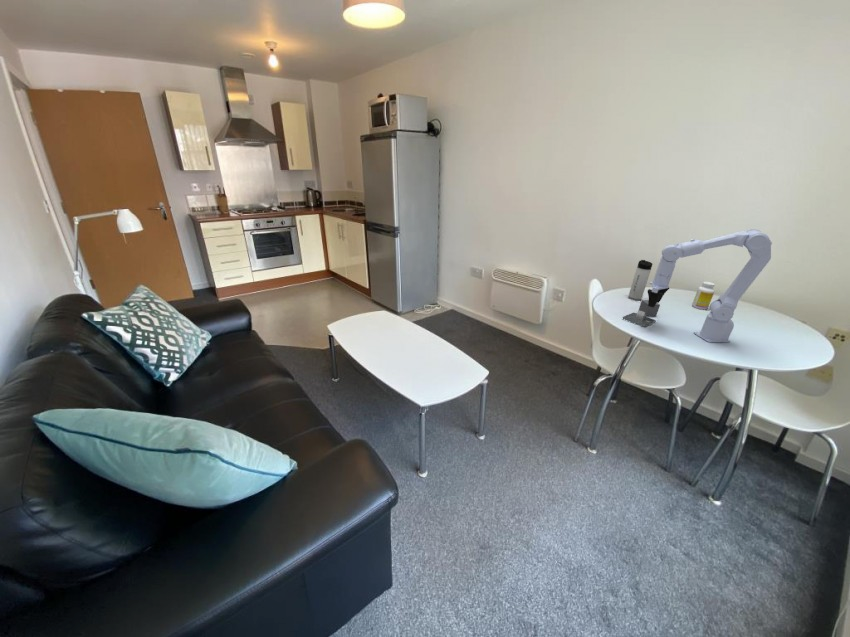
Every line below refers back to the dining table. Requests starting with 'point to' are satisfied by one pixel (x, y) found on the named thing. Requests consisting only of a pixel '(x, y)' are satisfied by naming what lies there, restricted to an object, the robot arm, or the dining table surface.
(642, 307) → the grey cube with tab
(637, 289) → the travel mug
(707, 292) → the supplement bottle
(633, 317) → the plate
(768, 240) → the robot arm
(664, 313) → the dining table surface
